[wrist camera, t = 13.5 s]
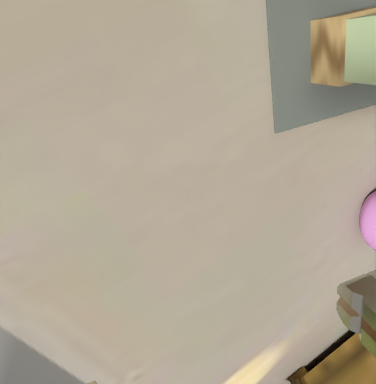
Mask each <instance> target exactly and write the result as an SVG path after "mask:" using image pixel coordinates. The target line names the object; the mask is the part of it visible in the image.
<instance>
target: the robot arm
mask: <svg viewBox="0 0 376 384" xmlns="http://www.w3.org/2000/svg"><path fill="white" fill-rule="evenodd" d="M337 293H338V294H339V295H340V298H339V299H338V301H337V312H338V314H339V317H340V319H341V320H342V322H343V323H344V324H345V325H346V327H347V328H348V329H349V330H350V331H353V332H355V333H357V334H359V337H360V342H361V343H362V344H363V345H364V346H365V347H366V348H367V350H368V351H369V352H370V353H371V354H372V355H373V356H374V357H375V358H376V270H374V271H372V272H369V273H367V274H363V275H361V276H358V277H356V278H353V279H351V280H349V281H346V282H344V283H341V284H339V286H338V287H337ZM87 384H97V383H96V381H93V382H90V383H87Z"/></svg>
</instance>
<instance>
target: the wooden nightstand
mask: <svg viewBox="0 0 376 384" xmlns="http://www.w3.org/2000/svg"><path fill="white" fill-rule="evenodd" d="M289 379H290V381H291V382H292V383H291V384H376V358H375V357H374V356H373V355H372V354H371V353H370V352H369V351H368V350H367V348H366V347H365V346H364V345H363V344H362V343H361V342H360V337H359V334H357V333H355V334H354V335H353V336H352V337H351V338H349V339H348V340H347V341H346V342H345V343H343V344H342V345H341V346H340V347H339V348H337V349H336V350H335V351H334V352H332V353H331V354H330V355H329V356H328V357H326V358H325V359H324V360H323V361H322V362H320V363H319V364H318V365H317V366H315V367H314V368H313V369H312V370H311V371H309V370H307V369H306V368H305V367H302V368H301V369H299V370H298V371H297V372H296V373H295V374H293V375H292V376H291V377H290V378H289Z"/></svg>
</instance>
